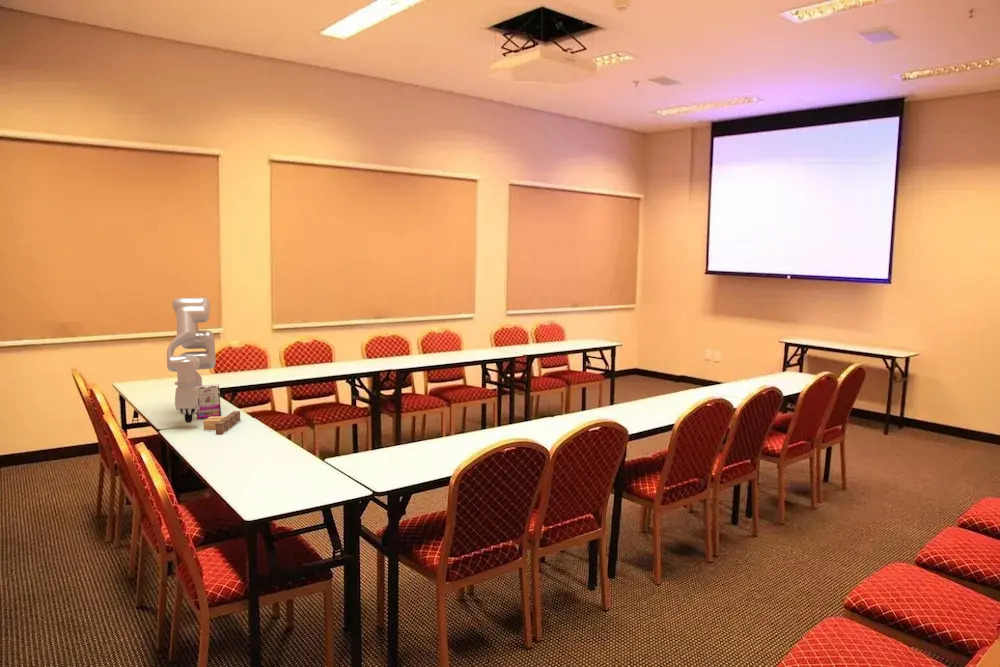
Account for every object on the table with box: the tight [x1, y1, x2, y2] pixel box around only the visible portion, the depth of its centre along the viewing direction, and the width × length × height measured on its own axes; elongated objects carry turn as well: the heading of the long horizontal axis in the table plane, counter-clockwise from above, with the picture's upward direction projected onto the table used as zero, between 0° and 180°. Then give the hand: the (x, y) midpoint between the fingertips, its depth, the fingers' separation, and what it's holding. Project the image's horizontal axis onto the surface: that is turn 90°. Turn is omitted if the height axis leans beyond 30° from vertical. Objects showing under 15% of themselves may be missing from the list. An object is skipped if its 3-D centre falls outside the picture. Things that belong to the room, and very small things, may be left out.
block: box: [202, 415, 227, 431], centre depth 315 cm, size 8×8×5 cm
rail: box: [215, 410, 241, 435], centre depth 317 cm, size 24×3×5 cm, turn 3°
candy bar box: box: [196, 384, 222, 420], centre depth 335 cm, size 11×5×16 cm, turn 112°
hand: (188, 421), depth 317 cm, fingers closed
